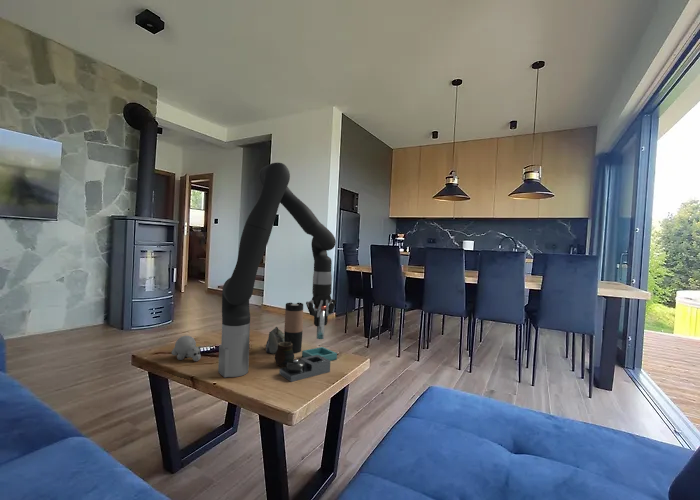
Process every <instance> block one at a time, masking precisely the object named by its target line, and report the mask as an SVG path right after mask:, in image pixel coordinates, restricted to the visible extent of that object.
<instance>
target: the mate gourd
mask: <svg viewBox="0 0 700 500" xmlns="http://www.w3.org/2000/svg"><path fill="white" fill-rule="evenodd" d="M290 342H291V341H290ZM290 342H280V343H278V349H277V351H276V353H274V361H275V363H276V365H277V366H278V367H280V368H284V367H287V362H288V361H291V360H294V359H295V353H294V352H293V349H292V347H293V344H292V343H290Z"/></svg>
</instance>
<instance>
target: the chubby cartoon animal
mask: <svg viewBox="0 0 700 500" xmlns="http://www.w3.org/2000/svg"><path fill="white" fill-rule="evenodd" d="M174 343H175V344H174V347H173V348H172V351H171V355H172V356H176V359H177V360H178V361H183V360H184V359H185V358H188V359H189V358H191V359H192V360H193V361H194V362H198V361H200V359H201V358H202V356H201V348H202V346H201V345H199V346H197V342H196V340H195V338H194V337H193V336H190V335H183V336H180V337H179V338H177V339H176V342H174Z"/></svg>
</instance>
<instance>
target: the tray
mask: <svg viewBox="0 0 700 500" xmlns="http://www.w3.org/2000/svg"><path fill="white" fill-rule="evenodd" d="M314 355H320V356H322V357H324V358H326V359H328V360H330V362H331V361H336V360H337V359H338V353H337V352H335V351H333V350H331V349H329V348H327V347H324V346H318V347H315V348H310V349H305V350H301V358H304V357H309V356H314Z"/></svg>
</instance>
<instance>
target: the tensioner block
mask: <svg viewBox="0 0 700 500" xmlns="http://www.w3.org/2000/svg"><path fill="white" fill-rule="evenodd" d="M278 372H279V375H280V376H281V377H283V378H285V379H286V380H288V381H289V382H291V383H292V382H296V381H300V380H303V379H308V378H311V377H315V376H318V375H323V374H327V373H331V361H330V360H328V359H326V358H324V357H322V356H320V355H314V356H309V357H304V358H303V357H300V358H299V359H298V358H294V360H291V361H288V362H287V367H280V368H279V371H278Z"/></svg>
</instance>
